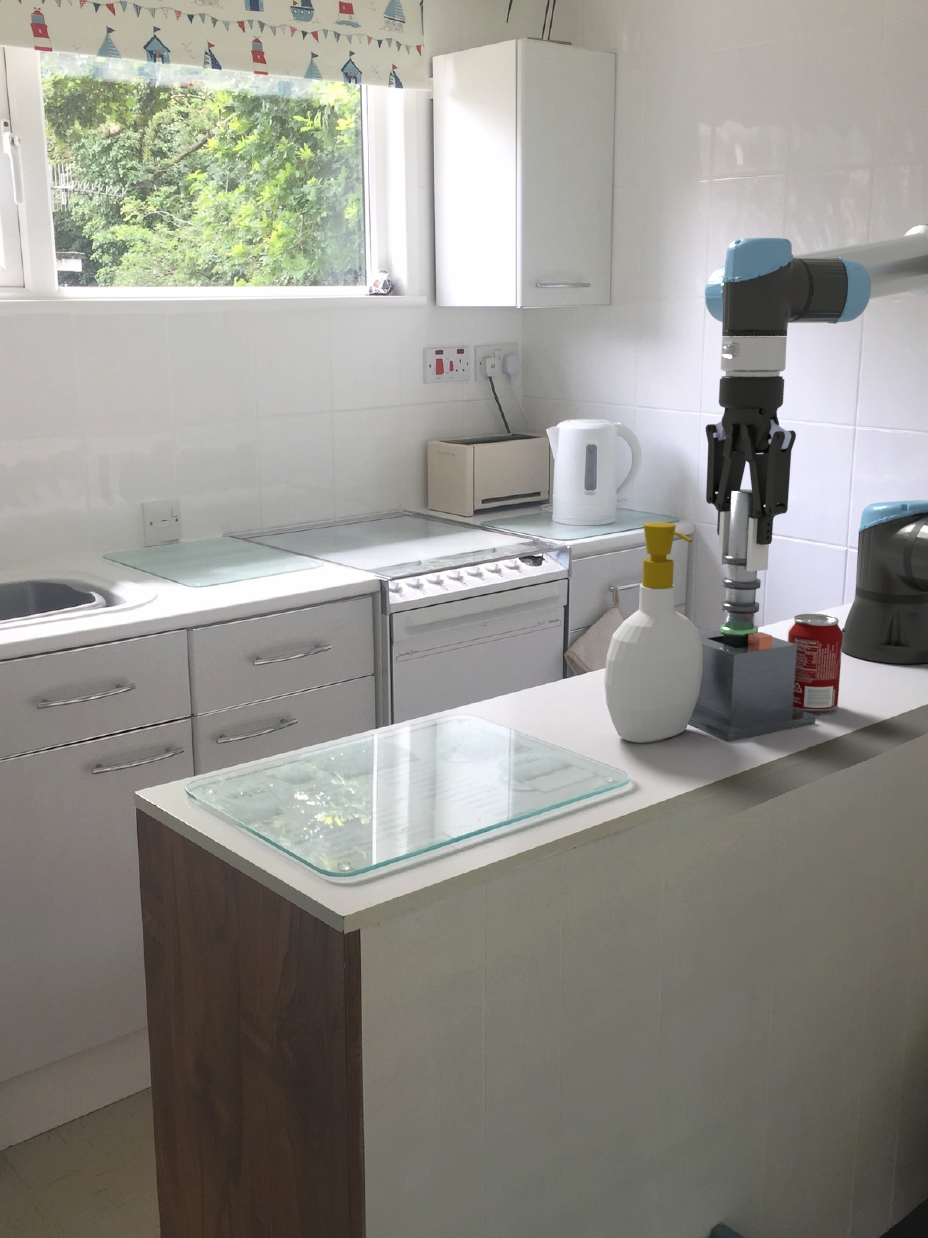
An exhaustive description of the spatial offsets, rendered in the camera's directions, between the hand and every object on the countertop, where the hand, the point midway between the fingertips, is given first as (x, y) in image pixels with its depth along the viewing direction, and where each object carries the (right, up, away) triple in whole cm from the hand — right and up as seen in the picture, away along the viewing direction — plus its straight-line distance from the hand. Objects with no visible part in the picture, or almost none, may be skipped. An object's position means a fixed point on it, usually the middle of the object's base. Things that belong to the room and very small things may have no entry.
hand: (742, 566), depth 149 cm
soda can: (+11, -18, +8) cm, 23 cm away
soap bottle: (-11, -21, -3) cm, 24 cm away
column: (0, -11, +3) cm, 11 cm away
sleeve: (0, -19, +5) cm, 19 cm away
